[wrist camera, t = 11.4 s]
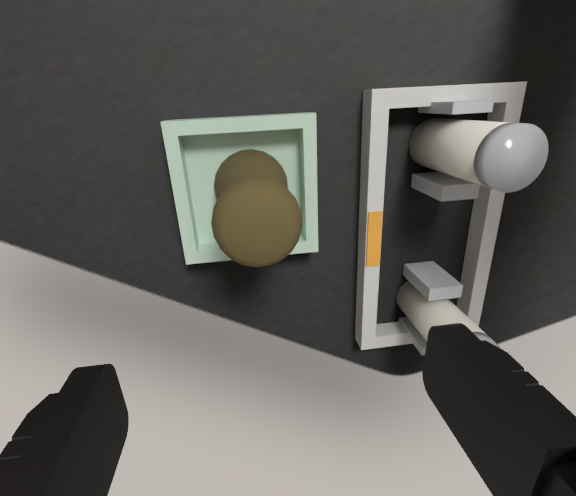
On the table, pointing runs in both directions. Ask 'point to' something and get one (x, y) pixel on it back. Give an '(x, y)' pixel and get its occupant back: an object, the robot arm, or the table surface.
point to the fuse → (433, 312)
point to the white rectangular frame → (486, 207)
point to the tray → (216, 148)
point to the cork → (254, 210)
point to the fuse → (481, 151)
